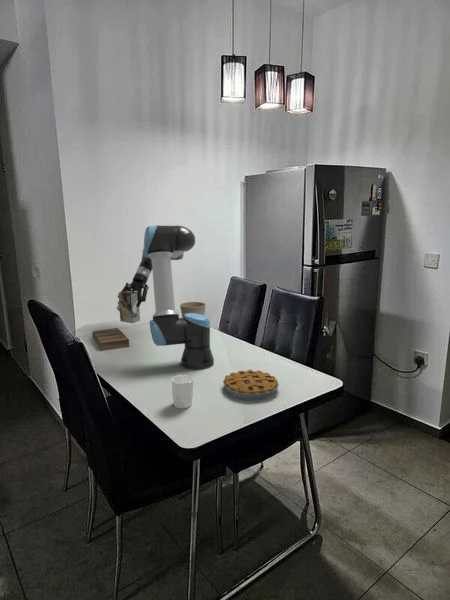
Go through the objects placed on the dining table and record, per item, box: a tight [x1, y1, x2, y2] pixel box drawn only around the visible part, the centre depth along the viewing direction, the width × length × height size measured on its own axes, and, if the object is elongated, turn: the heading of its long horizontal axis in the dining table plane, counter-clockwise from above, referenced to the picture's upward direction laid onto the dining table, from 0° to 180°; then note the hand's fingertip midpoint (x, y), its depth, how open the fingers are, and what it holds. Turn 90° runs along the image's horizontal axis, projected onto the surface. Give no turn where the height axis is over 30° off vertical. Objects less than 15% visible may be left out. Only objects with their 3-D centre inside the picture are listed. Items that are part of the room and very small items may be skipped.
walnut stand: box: [91, 327, 130, 352], centre depth 219 cm, size 24×14×4 cm, turn 29°
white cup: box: [171, 374, 194, 410], centre depth 149 cm, size 8×8×10 cm
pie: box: [222, 369, 280, 401], centre depth 162 cm, size 22×22×5 cm
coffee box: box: [118, 290, 141, 324], centre depth 219 cm, size 9×6×16 cm
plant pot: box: [179, 301, 207, 318], centre depth 240 cm, size 15×15×16 cm
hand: (125, 310), depth 216 cm, fingers closed on coffee box, 9 cm apart
